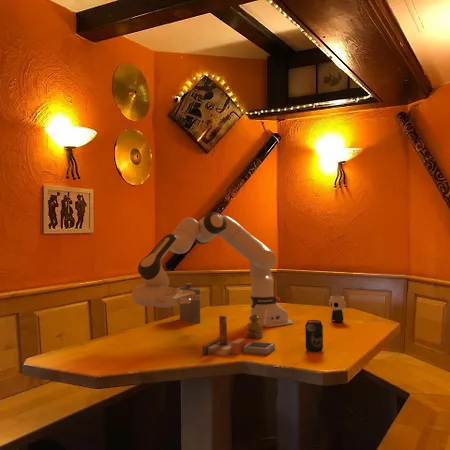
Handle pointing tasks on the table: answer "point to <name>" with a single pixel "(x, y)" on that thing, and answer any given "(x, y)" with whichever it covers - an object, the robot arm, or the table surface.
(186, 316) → the hip flask
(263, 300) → the robot arm
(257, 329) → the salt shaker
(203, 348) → the clamp bar
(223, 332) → the dowel
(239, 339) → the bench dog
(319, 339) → the soda can
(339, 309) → the bear figurine
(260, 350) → the tray
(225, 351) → the bench plate
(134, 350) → the table surface
